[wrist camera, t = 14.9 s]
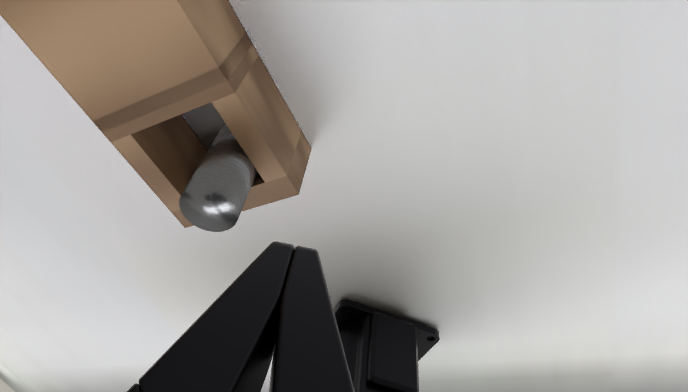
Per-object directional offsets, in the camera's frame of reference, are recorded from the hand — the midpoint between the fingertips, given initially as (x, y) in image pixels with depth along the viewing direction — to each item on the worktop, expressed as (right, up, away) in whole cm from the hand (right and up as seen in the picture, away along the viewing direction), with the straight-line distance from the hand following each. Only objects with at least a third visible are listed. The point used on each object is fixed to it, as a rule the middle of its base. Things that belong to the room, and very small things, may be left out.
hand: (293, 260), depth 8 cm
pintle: (-3, +4, +11) cm, 12 cm away
